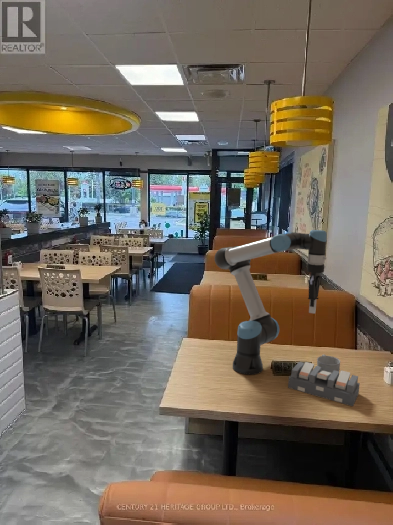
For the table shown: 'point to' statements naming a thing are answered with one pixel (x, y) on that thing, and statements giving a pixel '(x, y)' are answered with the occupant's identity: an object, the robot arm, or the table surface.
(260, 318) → the robot arm
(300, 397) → the table surface
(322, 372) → the block
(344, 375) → the rocker
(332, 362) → the teacup
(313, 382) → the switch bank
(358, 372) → the table surface
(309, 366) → the rocker
